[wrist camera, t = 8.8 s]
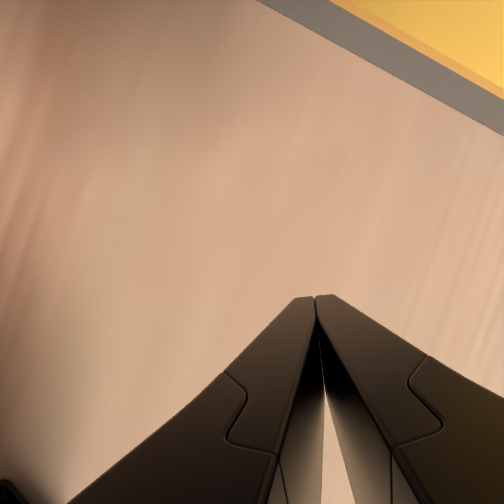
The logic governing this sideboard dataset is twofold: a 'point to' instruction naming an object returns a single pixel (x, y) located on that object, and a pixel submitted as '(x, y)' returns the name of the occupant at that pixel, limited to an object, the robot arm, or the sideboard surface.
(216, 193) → the sideboard surface
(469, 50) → the yellow flat slab
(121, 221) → the sideboard surface
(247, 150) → the sideboard surface
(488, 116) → the dark grey block
